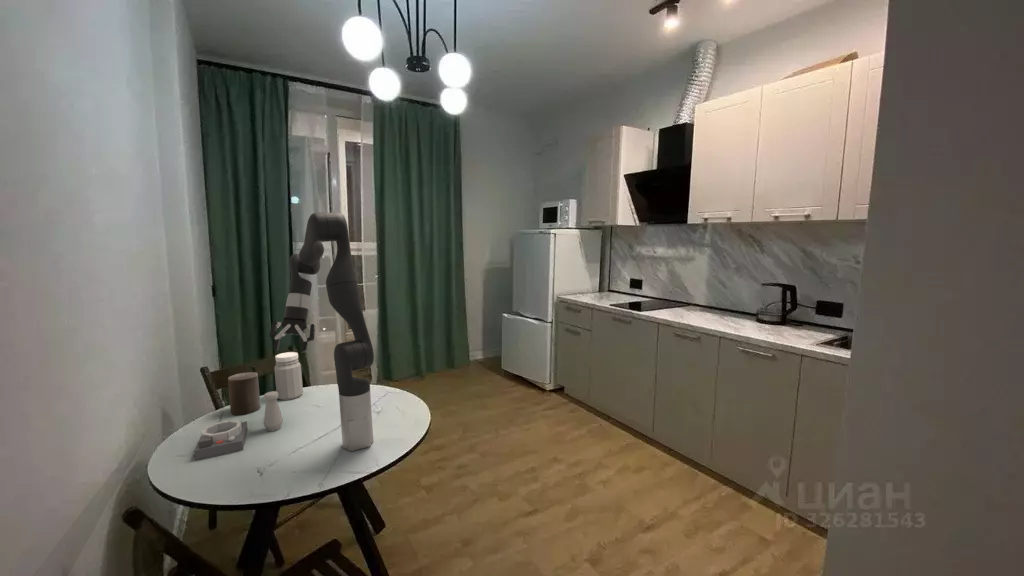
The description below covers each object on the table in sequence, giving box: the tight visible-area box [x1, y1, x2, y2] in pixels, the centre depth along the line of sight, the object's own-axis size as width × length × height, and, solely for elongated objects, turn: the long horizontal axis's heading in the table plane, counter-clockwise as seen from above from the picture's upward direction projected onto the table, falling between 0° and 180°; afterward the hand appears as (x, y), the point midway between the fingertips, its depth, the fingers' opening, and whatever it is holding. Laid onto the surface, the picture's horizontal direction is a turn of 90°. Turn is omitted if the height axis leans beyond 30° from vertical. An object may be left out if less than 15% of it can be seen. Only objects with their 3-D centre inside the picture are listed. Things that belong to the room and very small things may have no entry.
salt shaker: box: [263, 390, 284, 432], centre depth 140 cm, size 6×6×13 cm
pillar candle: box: [227, 372, 261, 416], centre depth 156 cm, size 10×10×15 cm
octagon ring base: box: [193, 419, 249, 461], centre depth 131 cm, size 16×12×6 cm
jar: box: [273, 351, 304, 401], centre depth 169 cm, size 10×10×18 cm
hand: (289, 351), depth 146 cm, fingers open, 8 cm apart
